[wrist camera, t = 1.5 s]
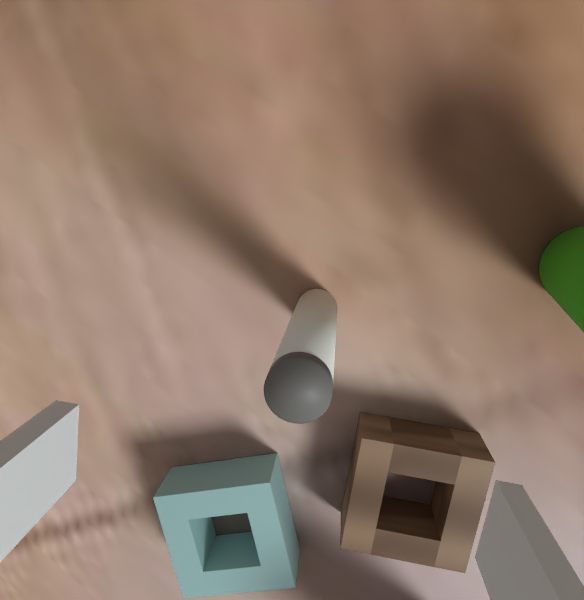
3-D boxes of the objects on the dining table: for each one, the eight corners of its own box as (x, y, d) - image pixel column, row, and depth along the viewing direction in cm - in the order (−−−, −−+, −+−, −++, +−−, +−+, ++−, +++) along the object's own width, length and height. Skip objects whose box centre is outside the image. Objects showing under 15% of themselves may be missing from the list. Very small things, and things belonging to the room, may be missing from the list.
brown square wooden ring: (360, 412, 37) (361, 438, 33) (479, 433, 36) (495, 462, 33) (340, 512, 39) (340, 548, 35) (452, 534, 39) (464, 573, 35)
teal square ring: (171, 467, 40) (153, 497, 36) (277, 452, 39) (269, 482, 35) (198, 560, 42) (183, 598, 38) (300, 549, 40) (295, 588, 37)
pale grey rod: (299, 285, 35) (268, 353, 21) (340, 292, 35) (337, 365, 21) (293, 324, 36) (259, 416, 22) (333, 331, 36) (326, 428, 21)
